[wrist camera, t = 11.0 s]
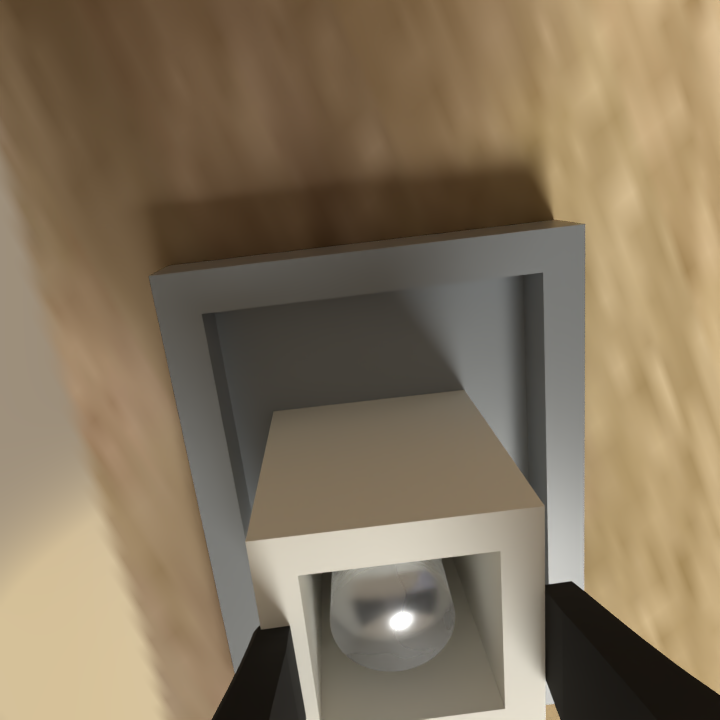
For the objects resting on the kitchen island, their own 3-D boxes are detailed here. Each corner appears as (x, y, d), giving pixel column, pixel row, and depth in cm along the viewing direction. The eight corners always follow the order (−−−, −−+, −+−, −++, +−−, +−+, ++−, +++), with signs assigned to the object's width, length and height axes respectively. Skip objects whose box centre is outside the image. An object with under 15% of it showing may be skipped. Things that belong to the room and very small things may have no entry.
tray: (168, 265, 15) (148, 276, 13) (555, 219, 15) (585, 224, 13) (257, 696, 19) (251, 747, 17) (560, 653, 19) (583, 699, 17)
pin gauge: (388, 436, 16) (407, 542, 11) (439, 501, 16) (478, 629, 11) (317, 485, 16) (304, 610, 11) (369, 547, 16) (378, 691, 12)
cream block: (273, 411, 16) (245, 541, 10) (464, 389, 16) (544, 506, 10) (298, 574, 17) (285, 769, 11) (471, 553, 17) (545, 735, 12)
